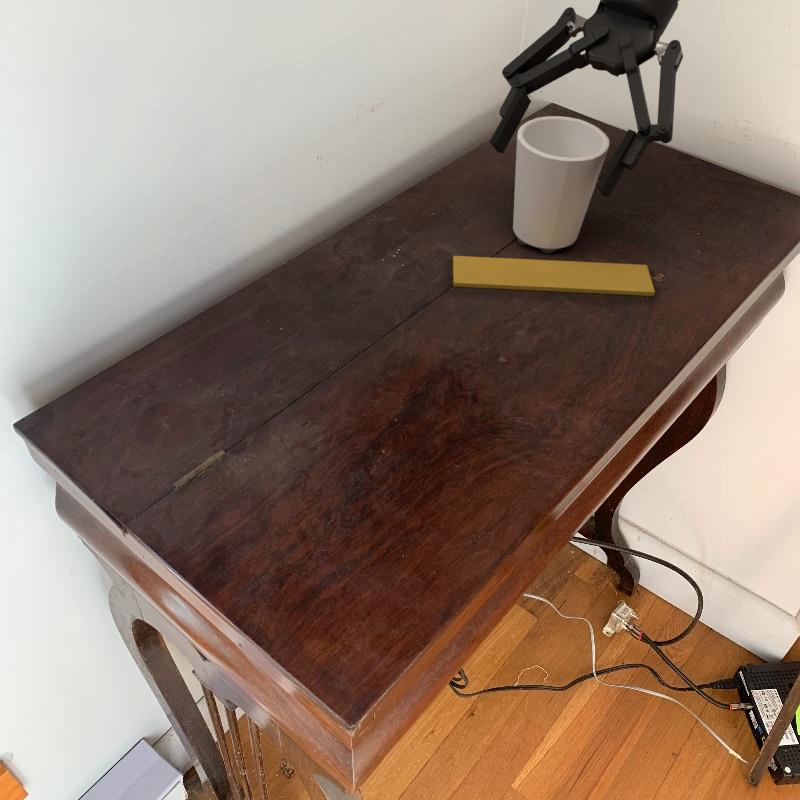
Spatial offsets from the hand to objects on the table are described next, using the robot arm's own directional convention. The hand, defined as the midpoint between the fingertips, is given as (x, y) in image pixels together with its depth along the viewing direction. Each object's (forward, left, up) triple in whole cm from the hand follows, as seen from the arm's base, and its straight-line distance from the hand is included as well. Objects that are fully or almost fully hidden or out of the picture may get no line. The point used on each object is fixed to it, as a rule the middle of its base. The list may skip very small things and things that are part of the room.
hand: (547, 169), depth 87 cm
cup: (0, -2, -10) cm, 10 cm away
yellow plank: (-4, +5, -10) cm, 12 cm away
